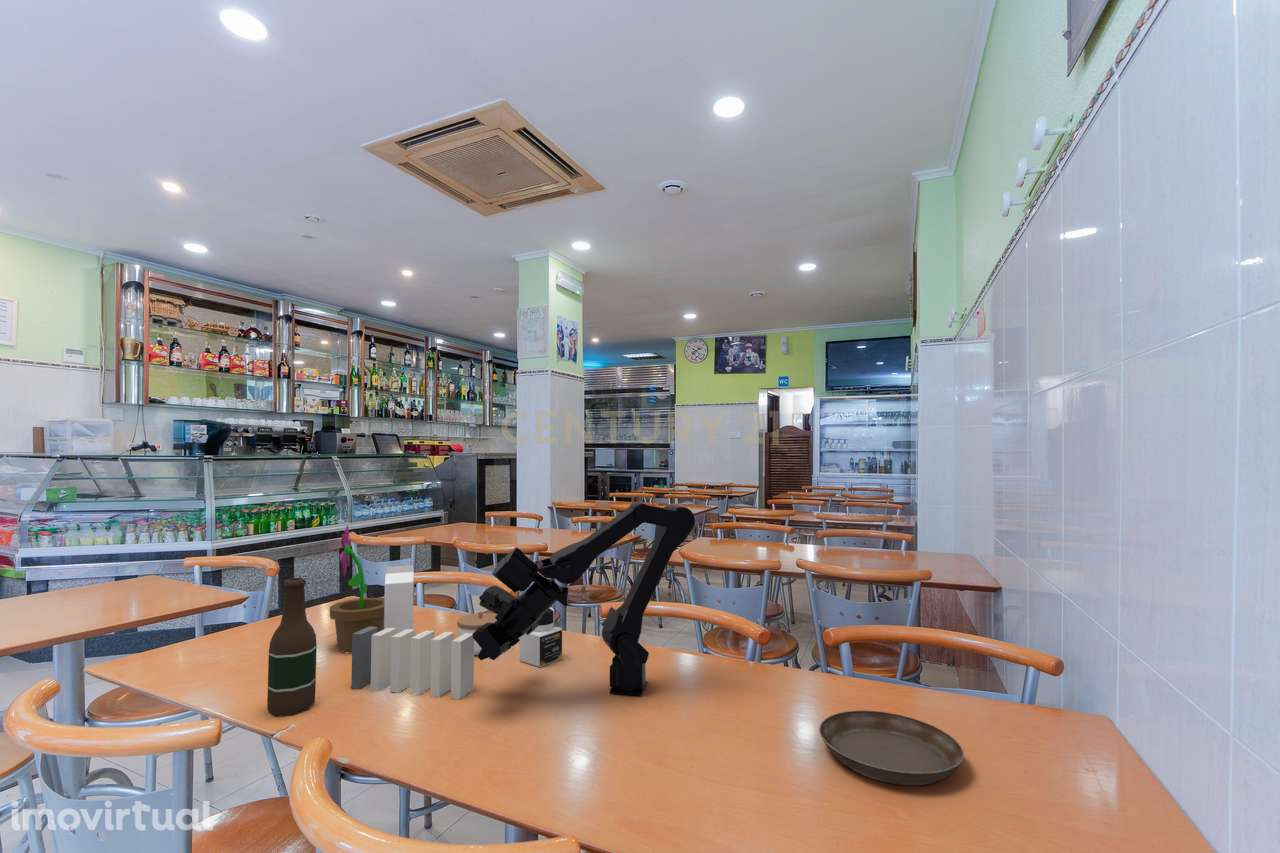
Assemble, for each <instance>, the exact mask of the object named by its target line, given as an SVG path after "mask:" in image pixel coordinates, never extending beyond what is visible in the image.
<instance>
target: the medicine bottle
mask: <svg viewBox="0 0 1280 853" xmlns="http://www.w3.org/2000/svg"><path fill="white" fill-rule="evenodd" d="M519 640H520V641H519V642H518V643H519V645H518V647H519V648H518V650H519V652H518V653H519V654H518V656H519V658H518V660H519V662H521V663H525V664H528V665H530V666H533V667H537V668H543V667H545V666H547V665H550V664H552V663H555V662H557V661H558V662H559V661H561V660H562V659H563V628H562V627H559V626H558V627H557V626H555V609H554V608H553V607H552V606H551V607H550V608H549V609H548V610H547V611H546V612H545V613H544V614H543V617H542V618H541V619H540V620H538V627H537V628H536V629H535V630H534V631H533V632H532V633H530V634H529V635H528V636H527V634H524V635H523V636H522V637H520V638H519Z"/></svg>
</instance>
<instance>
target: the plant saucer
mask: <svg viewBox="0 0 1280 853" xmlns="http://www.w3.org/2000/svg"><path fill="white" fill-rule="evenodd" d="M818 728H819V730H818V731H819V735H820V738H821V739H822V741H823V742H824V744H825V746H826V747H827V749H828V750H829V751H830V753H831V754H832V755H833V756H834V757H835V758H836V759H837V760H838V761H839V762H840V763H842V764H843V765H844V766H846V767H848V768H849V769H850V770H852V771H853V772H856V773H858V774H860V775H863V776H864V777H867V778H870V779H872V780H875V781H879V782H884V783H886V784H887V783H888V784H893V785H901V786H923V785H924V786H925V785H930V784H935V783H937V782H939V781H942V780H943V779H945V778H947V777H949V775H951V774H952V773H954V772H955V771H956V770H957V769H958V768H959V766H960V765H961V763H962V761H963V760H964V755H965V753H964V750H963V747H962V746H961V745H960V743H959V742H958V741H957V740H956V739H955V738H954V737H953V736H951V735H950V734H948V733H947V732H945V731H943V730H942V729H940V728H938V727H937V726H934V725H931V724H929V723H927V722H925V721H922V720H919V719H916V718H913V717H909V716H905V715H902V714H897V713H891V712H888V711H887V712H885V711H876V710H865V709H864V710H850V711H848V710H847V711H841V712H838V713H834V714H832V715H829V716H827V717H826V718H824V719H823V720H822V721H821V723H820V725H819V726H818Z"/></svg>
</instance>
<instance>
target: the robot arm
mask: <svg viewBox="0 0 1280 853" xmlns="http://www.w3.org/2000/svg"><path fill="white" fill-rule="evenodd" d="M642 524H650V525H654V526H655V527H654V528H655V530H654V538H653V542H652V544H651V546H650V549H649V550H648V552H647V555H646V556H645V559H644V561H643V563H642V565H641V567H640V569H639V571H638V573H637V575H636V577H635V579H634V581H633V583H632V585H631V587H630V589H629V591H628V594H627V595H626V597H625V599H624V602H623V603H622V604H621V605H620V606H619V607H618V608H617V609H615V608H614V607H612V606H611V607H610V608H609V610H608V612H607V616H606V618H605V619H604V621H602V623H601V626H602V630H601V636H602V640H603V642H604V643H605V645H607V647H608V648H609V649H610V651H611V652H612V653H613V654H614V656H613V658H612V661H611V662H612V663H611V664H610V665H609V687H610V689H609V694H615V695H626V696H627V695H628V696H635V697H637V696H639V697H640V696H643V693H644V691H645V690H646V688H647V686H648V681H646V664H647V662H648V658H649V655H650V653H649V651H648V650H647V649H646V648H645V647H644V646H643V645H642V644H641V643H639V640H640V637H641V634H642V626H643V619H644V618H643V617H644V613H645V612H646V609H647V607H648V606H649V603H650V601H651V598H652V597H653V595H654V593H655V590H656V588H657V586H658V585H659V582H660V580H661V578H662V576H663V574H664V573H665V572H664V571H665V570H666V568H667V566H668V563H669V562H670V560H671V557H672V555H673V553H674V552H675V550H676V549H677V548H679V546H681V545H682V543H683V542H685V541H686V540H687V538H688V537H689V535H690V534H691V533H692V531H693V530H694V527H695V524H696V518H695V515H694V513H693V511H692V510H691V509H689V508H688V507H685V506H681V505H675V504H669V505H665V506H664V507H661V506H660V507H659V506H654V505H648V504H646V503H643V502H638V501H635V502H632V503H631V504H629V506H628V507H627V508H625V509H624V510H623V511H622V512H620V513H619V514H618V515H616V516H615V517H613V518H612V519H611V520H609V521H608V522H607V523H605V524H603V526H601V527H600V528H598V529H596V530H595V531H594V532H592V533H591V534H590V535H588V536H587V537H586V538H584V539H582V540H580V541H576V542H574V543H571V544H569V545H567V546H565V547H562V548H560V549H558V550H556V551H555V552H553V553H552V554H551V556H550V557H547V558H544V559H540V560H536V561H533V560H532V559H531V558H530V557H529V556H527V555H526V554H525V553H524V552H523V551H522V550H521V548H519V547H518V546H515V547H514V549H512V550H511V551H509V553H508V554H506V555H505V556H504V557H502V558H501V559H500V561H499V562H498V563H497V564H496V566H495V567H494V568H493V571H492V573H491V575H492V576H493V577H494V578H495V579H497V580H498V581H500V582H501V583H502V584H503V585H504V586H506V587H507V588H508V589H510V590H511V591H512V592H513V593H517V592H518V591H519V592H522V594H520V595H518V597H516V596H514V595H513V594H512V593H510V592H508V591H507V590H504V589H503V588H501V587H500V586H498V585H492V586H490V587H487V588H486V589H485V590H484V591H483V592H482V594H481V595H480V596H478V597H479V598H478V600H480V601H479V606H480V607H481V608H484V609H486V610H487V611H490V612H491V613H495V614H497V616H496V617H495V618H496V620H497V621H496V622H495V624H494V623H486V624H484V625H482V626H481V627H479V628H478V629H477V630H476V631H475V632H474V633H473V634H472V636H473V639H474V640H475V641H476V642H477V643H478V645H479V646H480V647H481V648H482V649H481V651H480V653H479V654H478V655H477V658H478V659H479V660H480V661H483V660H485V659H488V658H489V660H491V661H495V660H497V659H498V658H500V656H502V655H503V654H504V653H506V652H507V651H509V650H510V649H511V648H512V647H514V646H515V645H516V644H518V643H519V641H520V640H519V638H520V637H522V636H523V635H524V634H527V636H528V635H529V634H530V633H532V632H533V631H534V630H535V629H536V628H537V627H538V620H540V619H541V618H542V617H543V614H544V613H545V612H546V611H547V610H548V609H549V608H550V607H551V608H552V606H554V604H555V603H556V602H559V603H560V604H561V605H562V606H563V607H567V606H568V604H569V603H568V602H569V591H570V589H569V587H568V586H566V587H564V586H561V585H559V584H558V583H557V582H559V583H561V584H564V585H571V584H573V583H575V582H577V580H579V578H581V577H582V575H584V573H585V572H587V570H588V569H589V568H590V567H591V566H592V564H593V563H594V562H595V560H596V559H597V558H598V557H599V556H600V555H602V554H603V553H604V552H606V551H607V550H608V549H609V548H611V547H612V546H613V545H615V544H616V543H618V542H619V541H620V540H622V539H623V538H624V537H625V536H627V535H628V534H630V533H632V532H633V531H634V530H635V529H637V528H638V527H639V526H641V525H642ZM553 579H554V580H553ZM555 580H556V581H557V582H555Z"/></svg>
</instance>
